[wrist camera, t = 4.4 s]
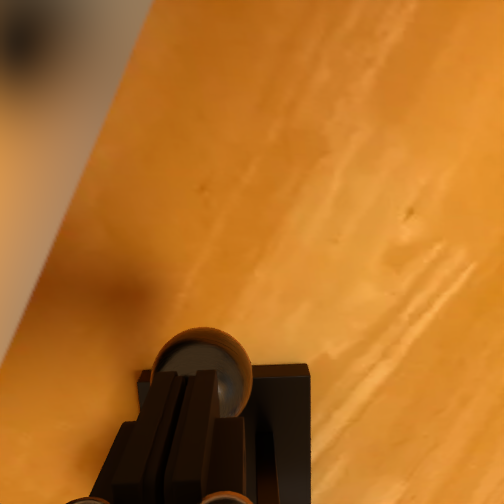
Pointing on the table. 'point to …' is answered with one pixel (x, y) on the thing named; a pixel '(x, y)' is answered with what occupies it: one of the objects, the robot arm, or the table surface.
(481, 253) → the table surface
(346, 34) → the table surface
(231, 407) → the ball knob lever
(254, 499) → the black lever base
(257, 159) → the table surface
